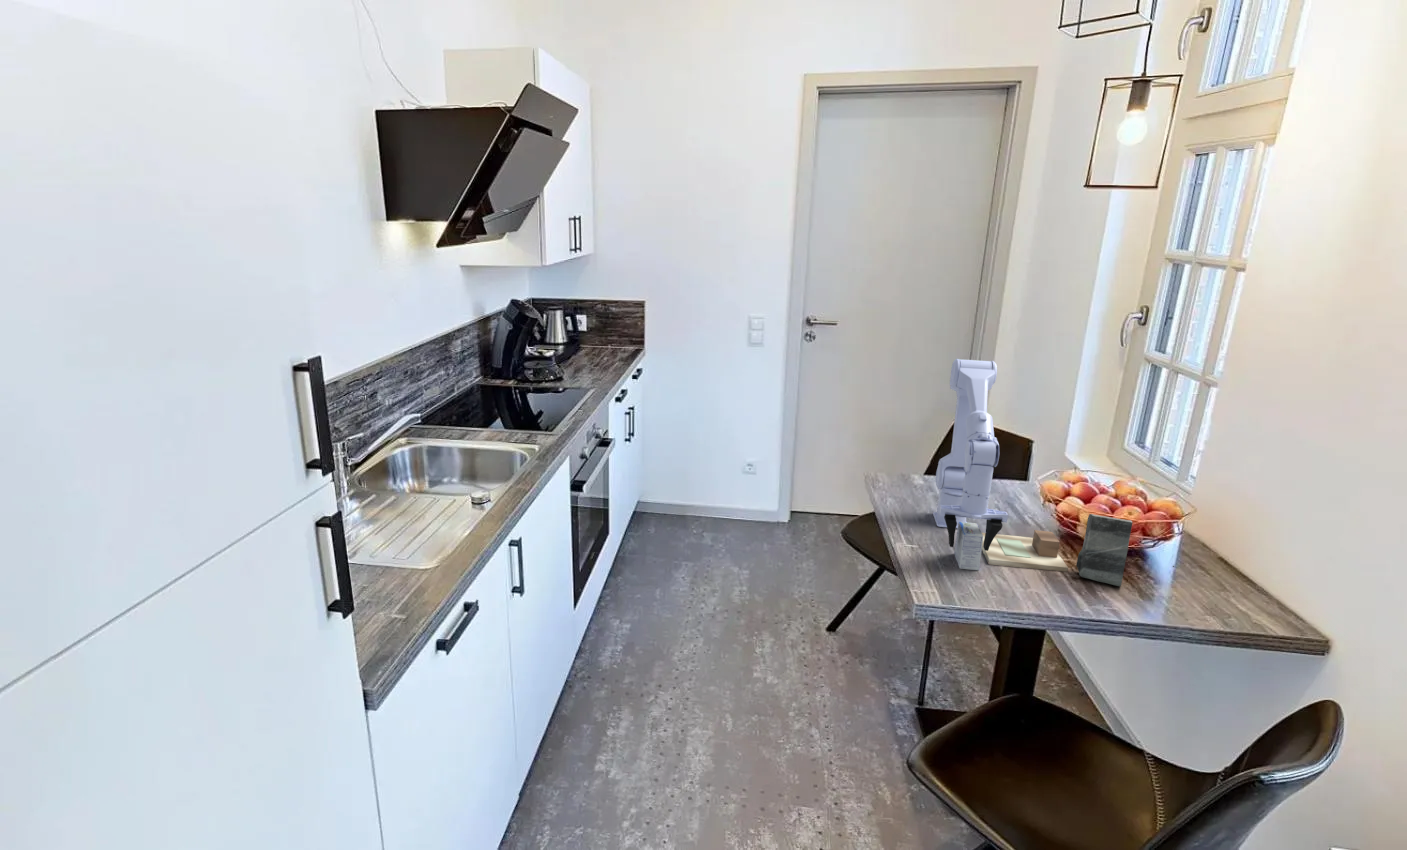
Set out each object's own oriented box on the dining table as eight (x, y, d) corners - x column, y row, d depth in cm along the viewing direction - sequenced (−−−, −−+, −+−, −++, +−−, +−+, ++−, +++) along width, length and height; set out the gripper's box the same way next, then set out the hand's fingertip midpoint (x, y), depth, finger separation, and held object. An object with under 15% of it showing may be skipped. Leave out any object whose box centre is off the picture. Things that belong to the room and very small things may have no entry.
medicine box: (979, 571, 157) (984, 536, 154) (958, 569, 157) (963, 534, 155) (973, 556, 164) (978, 522, 162) (953, 554, 165) (958, 520, 163)
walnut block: (1031, 545, 168) (1034, 530, 167) (1049, 547, 167) (1052, 531, 166) (1038, 555, 162) (1041, 540, 161) (1056, 557, 161) (1059, 542, 160)
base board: (975, 537, 175) (976, 531, 175) (1046, 544, 172) (1047, 538, 172) (988, 565, 160) (989, 558, 159) (1067, 573, 157) (1068, 566, 156)
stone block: (1075, 573, 157) (1074, 576, 153) (1086, 511, 157) (1086, 512, 153) (1120, 584, 153) (1120, 587, 148) (1132, 520, 153) (1133, 521, 148)
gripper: (945, 494, 154) (938, 550, 157) (1014, 501, 151) (1005, 557, 155) (940, 484, 160) (933, 538, 164) (1006, 490, 158) (998, 545, 161)
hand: (968, 547), depth 160 cm, fingers open, 7 cm apart
